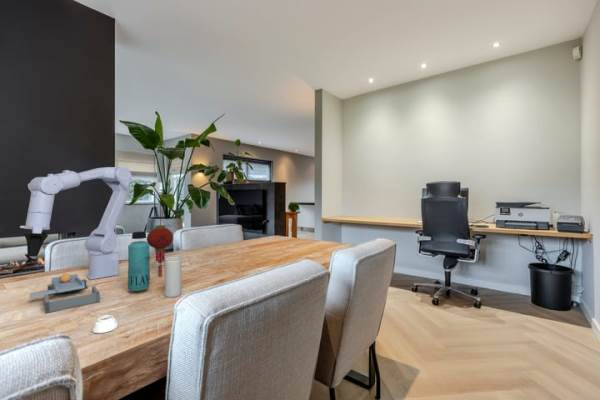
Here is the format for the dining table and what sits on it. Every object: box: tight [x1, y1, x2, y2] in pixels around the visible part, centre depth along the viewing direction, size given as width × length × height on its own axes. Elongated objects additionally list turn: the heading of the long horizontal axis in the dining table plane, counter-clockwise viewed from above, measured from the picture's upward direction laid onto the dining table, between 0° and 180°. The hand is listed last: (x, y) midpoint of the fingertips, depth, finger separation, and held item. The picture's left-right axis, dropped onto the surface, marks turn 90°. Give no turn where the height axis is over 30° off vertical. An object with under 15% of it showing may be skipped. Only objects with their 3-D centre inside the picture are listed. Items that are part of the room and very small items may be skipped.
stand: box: [47, 278, 89, 297], centre depth 93 cm, size 10×4×3 cm, turn 134°
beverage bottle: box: [127, 231, 151, 292], centre depth 93 cm, size 6×7×20 cm
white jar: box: [91, 314, 119, 334], centre depth 67 cm, size 5×3×5 cm
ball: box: [59, 273, 72, 282], centre depth 98 cm, size 3×3×3 cm
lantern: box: [146, 200, 174, 278], centre depth 110 cm, size 10×10×30 cm
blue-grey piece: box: [29, 273, 84, 298], centre depth 91 cm, size 13×18×3 cm
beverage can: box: [164, 256, 182, 299], centre depth 90 cm, size 5×5×12 cm
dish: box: [43, 285, 101, 314], centre depth 83 cm, size 12×9×3 cm
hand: (32, 255), depth 90 cm, fingers open, 7 cm apart
